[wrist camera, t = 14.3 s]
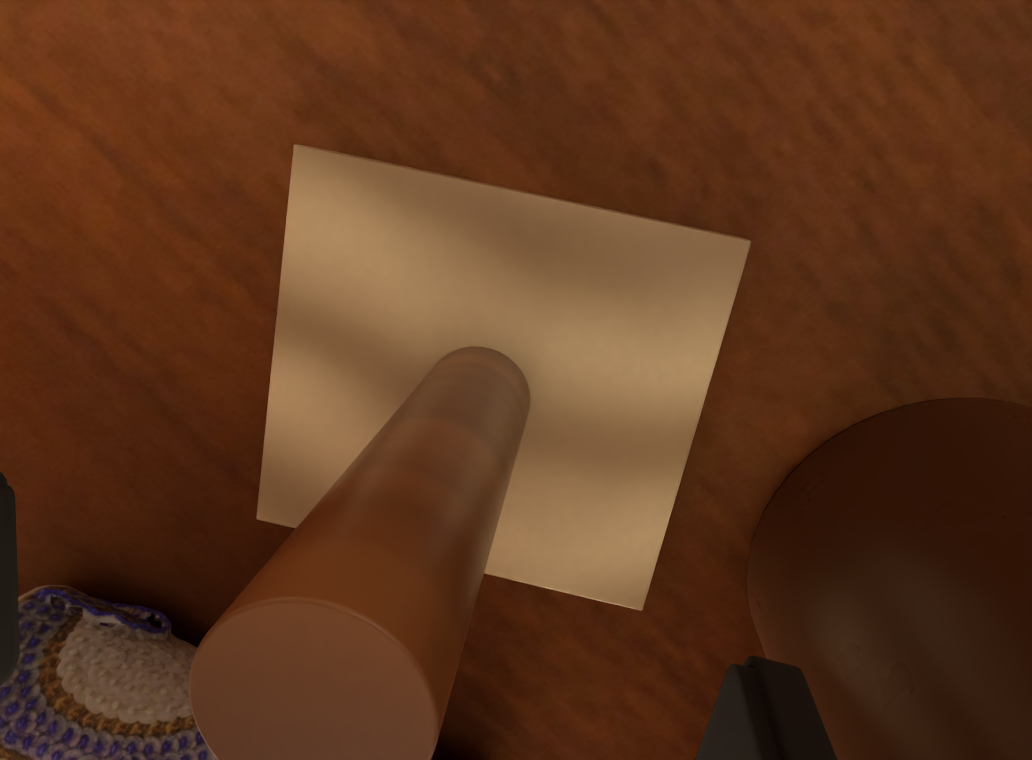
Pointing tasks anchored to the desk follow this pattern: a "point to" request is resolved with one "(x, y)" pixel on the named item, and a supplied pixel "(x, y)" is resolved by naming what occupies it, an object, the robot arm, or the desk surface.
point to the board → (511, 331)
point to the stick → (371, 585)
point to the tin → (908, 582)
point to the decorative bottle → (97, 683)
